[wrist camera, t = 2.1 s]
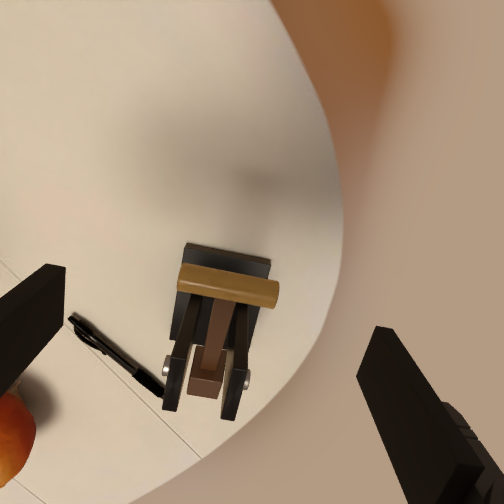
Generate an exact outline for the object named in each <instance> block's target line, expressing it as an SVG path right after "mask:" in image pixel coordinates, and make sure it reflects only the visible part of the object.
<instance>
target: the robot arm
mask: <svg viewBox="0 0 504 504" xmlns="http://www.w3.org/2000/svg"><path fill="white" fill-rule="evenodd" d="M65 273H66V267H62V266H57V265H52V264H45V265H43V266H42V267H41V268H39V269H38V270H37V271H35V272H34V273H33V274H31V275H30V276H29V277H27V278H26V279H25V280H24V281H22V282H21V283H20V284H18V285H17V286H16V287H14V288H13V289H12V290H10V291H9V292H8V293H6V294H5V295H4V296H2V297H1V298H0V398H1V397H2V396H3V395H4V393H5V392H6V391H7V390H8V389H9V388H10V386H11V385H12V384H13V383H14V382H15V381H16V379H17V378H18V377H19V376H20V375H21V374H22V372H23V371H24V370H25V369H26V368H27V367H28V366H29V364H30V363H31V362H32V361H33V360H34V359H35V357H36V356H37V355H38V354H39V353H40V352H41V350H42V349H43V348H44V347H45V346H46V345H47V343H48V342H49V341H50V340H51V339H52V338H53V337H54V335H55V334H56V333H57V332H58V331H59V330H60V328H61V327H62V326H63V319H64V296H65ZM356 377H357V380H358V382H359V385H360V387H361V390H362V392H363V395H364V397H365V400H366V402H367V405H368V407H369V409H370V412H371V414H372V417H373V419H374V422H375V424H376V426H377V429H378V431H379V434H380V436H381V438H382V441H383V444H384V446H385V448H386V451H387V453H388V456H389V458H390V461H391V463H392V465H393V468H394V470H395V473H396V475H397V477H398V480H399V483H400V485H401V487H402V489H403V492H404V495H405V497H406V500H407V502H408V504H504V474H503V473H502V471H501V470H500V469H499V467H498V466H497V464H496V463H495V461H494V460H493V459H492V457H491V456H490V455H489V453H488V452H487V450H486V449H485V448H484V446H483V444H482V443H481V442H480V441H478V437H477V436H476V435H475V433H474V432H473V430H471V429H470V426H469V425H468V423H467V422H466V420H465V419H464V418H463V416H462V415H461V414H460V413H459V412H458V411H457V410H456V409H454V407H452V406H451V405H450V404H449V403H447V402H441V400H440V399H439V397H438V396H437V394H436V393H435V391H434V390H433V388H432V387H431V385H430V384H429V382H428V381H427V379H426V378H425V377H424V375H423V373H422V372H421V371H420V369H419V367H418V366H417V365H416V363H415V361H414V360H413V359H412V357H411V356H410V354H409V353H408V351H407V350H406V348H405V347H404V345H403V344H402V342H401V341H400V339H399V338H398V336H397V335H396V333H395V332H394V330H393V329H390V328H385V327H380V326H376V327H375V329H374V332H373V334H372V337H371V340H370V342H369V345H368V347H367V350H366V352H365V355H364V357H363V360H362V363H361V365H360V368H359V370H358V373H357V375H356Z"/></svg>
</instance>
